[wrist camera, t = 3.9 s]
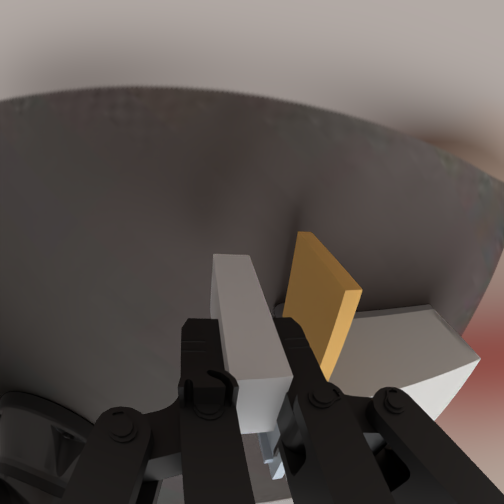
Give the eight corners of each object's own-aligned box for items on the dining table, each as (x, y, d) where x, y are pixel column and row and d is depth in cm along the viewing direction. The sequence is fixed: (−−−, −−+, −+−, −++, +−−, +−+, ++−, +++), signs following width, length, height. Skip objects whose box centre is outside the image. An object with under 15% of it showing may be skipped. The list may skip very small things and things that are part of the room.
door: (249, 413, 25) (266, 483, 18) (281, 223, 17) (337, 300, 10) (266, 411, 25) (284, 480, 18) (307, 224, 17) (374, 297, 10)
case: (267, 410, 25) (286, 480, 18) (290, 316, 20) (330, 405, 13) (385, 389, 28) (415, 441, 21) (429, 304, 23) (480, 358, 16)
